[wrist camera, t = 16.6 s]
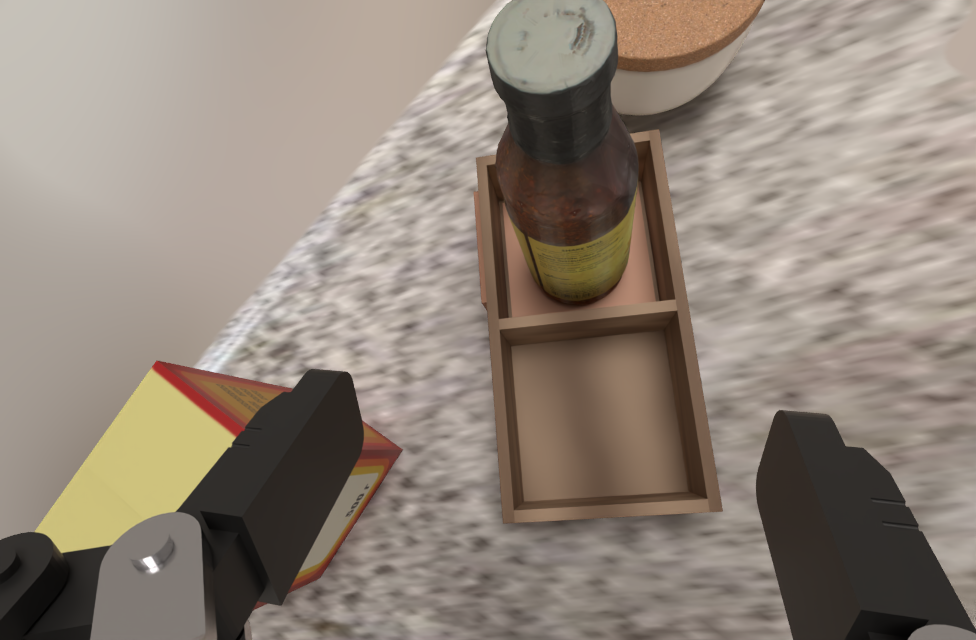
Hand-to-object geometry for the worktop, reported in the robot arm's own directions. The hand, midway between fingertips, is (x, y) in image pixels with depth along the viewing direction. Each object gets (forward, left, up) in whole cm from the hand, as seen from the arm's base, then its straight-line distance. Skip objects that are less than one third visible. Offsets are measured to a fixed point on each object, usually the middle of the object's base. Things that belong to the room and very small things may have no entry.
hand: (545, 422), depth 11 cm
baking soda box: (+16, +2, -25) cm, 30 cm away
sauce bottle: (-1, -11, -23) cm, 26 cm away
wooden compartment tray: (-2, -6, -24) cm, 25 cm away
